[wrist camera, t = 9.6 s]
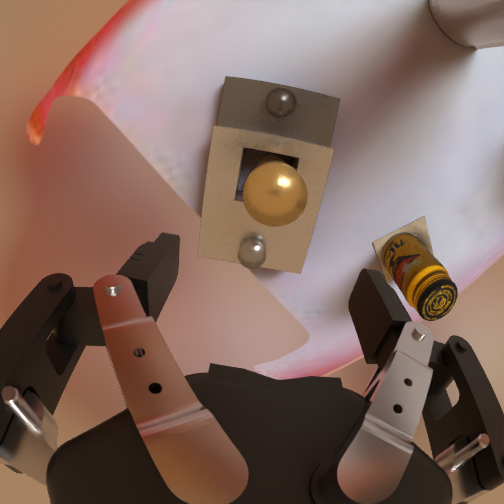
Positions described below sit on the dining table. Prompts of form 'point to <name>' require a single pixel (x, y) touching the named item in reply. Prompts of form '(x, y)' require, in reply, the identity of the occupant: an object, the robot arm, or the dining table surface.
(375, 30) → the dining table surface
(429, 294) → the yellow jar
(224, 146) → the slotted plate with knobs
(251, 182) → the brass pin
